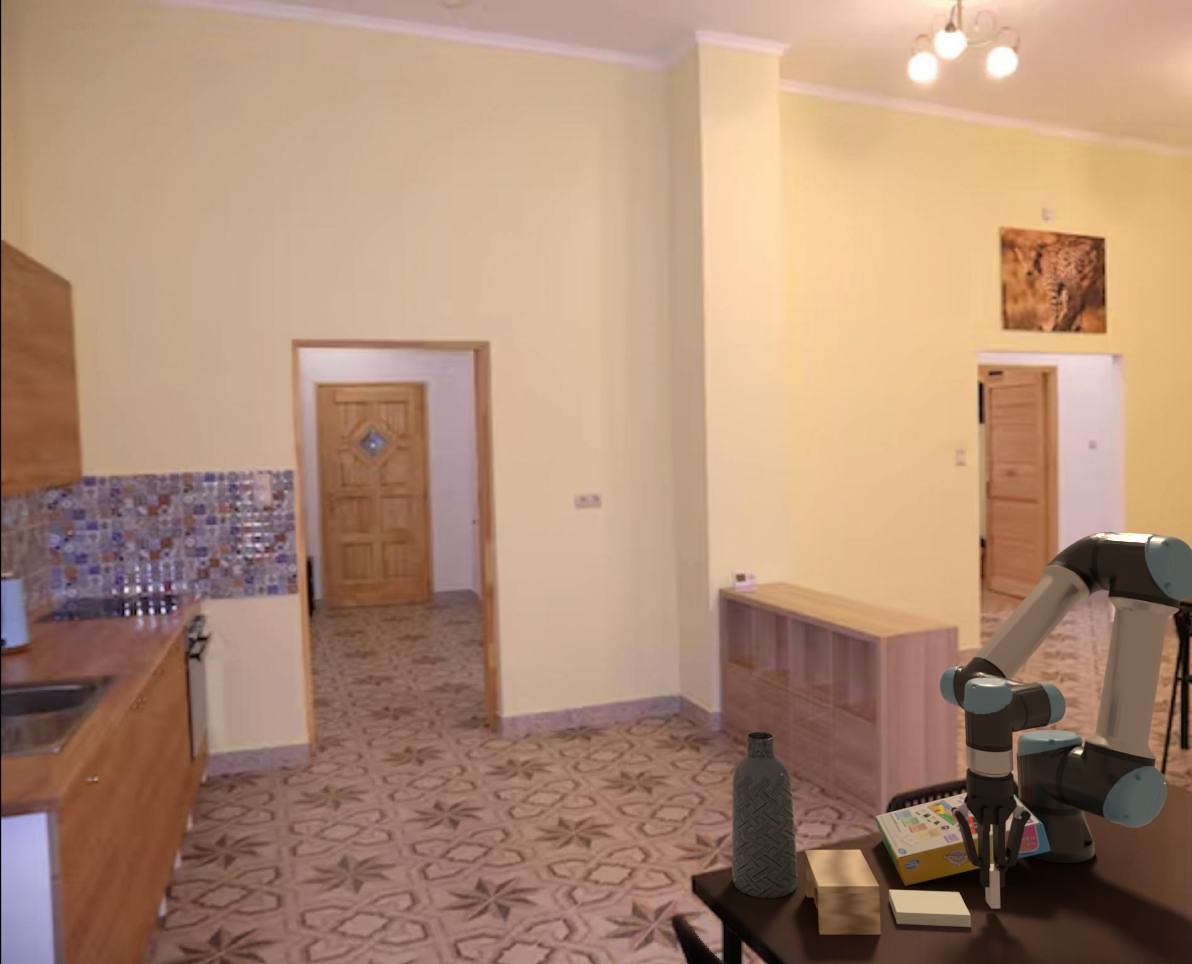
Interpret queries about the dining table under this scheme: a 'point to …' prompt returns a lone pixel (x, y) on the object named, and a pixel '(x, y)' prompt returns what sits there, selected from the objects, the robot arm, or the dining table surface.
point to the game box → (943, 839)
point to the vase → (763, 822)
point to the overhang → (843, 892)
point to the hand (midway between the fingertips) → (992, 904)
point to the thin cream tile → (929, 908)
